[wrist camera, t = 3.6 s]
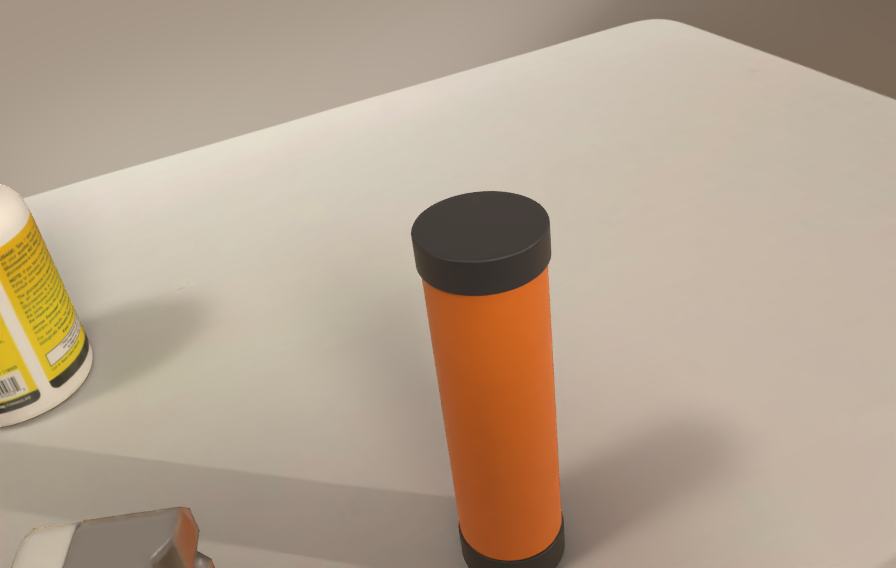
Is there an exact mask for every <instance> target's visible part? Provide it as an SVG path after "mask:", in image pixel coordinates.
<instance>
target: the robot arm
mask: <svg viewBox="0 0 896 568" xmlns="http://www.w3.org/2000/svg"><path fill="white" fill-rule="evenodd" d="M199 532H200V530H199V527H198V525H197V523H196V521H195V519H194V517H193V515H192V512H191V510H190V508H186V507H175V508H168V509H161V510H154V511H147V512H140V513H133V514H126V515H119V516H112V517H105V518H98V519H91V520H84V521H83V522H77V523H69V524H62V525H55V526H48V527H41V528H34V529H32V530H31V531H30V532H29V534H28V535H27V536H26V537H25V538H24V539H23V540H22V541H21V543H20V545H19V548H18V550H17V553H16V556H15V558H14V561H13V563H12V566H11V568H215V566H214V564H213V561H212V559H211V558H209V557H207V556H205V555H204V554H202V553H200V552H198V551H197V545H198V538H199Z"/></svg>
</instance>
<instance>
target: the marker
mask: <svg viewBox="0 0 896 568" xmlns="http://www.w3.org/2000/svg"><path fill="white" fill-rule="evenodd" d="M411 237H412V243H413V250H414V256H415V262H416V268H417V271H418V273H419V275H420V276H421V278H422V281H423V288H424V294H425V301H426V307H427V314H428V320H429V327H430V333H431V340H432V346H433V353H434V359H435V366H436V372H437V379H438V385H439V392H440V399H441V405H442V412H443V418H444V425H445V431H446V438H447V444H448V451H449V457H450V464H451V470H452V477H453V483H454V490H455V496H456V503H457V509H458V516H459V533H460V539H461V545H462V552H463V556H464V559H465V561H466V563H467V565H468V566H469V568H556V566H557V565H558V563H559V562H560V560H561V558H562V555H563V552H564V545H565V541H564V522H563V515H562V511H561V497H560V479H559V460H558V442H557V423H556V405H555V387H554V368H553V350H552V332H551V313H550V295H549V276H548V264H549V261H550V259H551V238H550V221H549V216H548V214H547V212H546V211H545V209H544V208H543V207H542V206H541V205H540V204H539V203H537V202H536V201H534V200H532V199H530V198H528V197H525V196H522V195H518V194H514V193H509V192H499V191H483V192H473V193H466V194H462V195H457V196H454V197H450V198H448V199H445V200H442V201H440V202H438V203H436V204H434V205H432V206H430V207H429V208H427V209H426V210H425V211H424V212H422V213H421V214H420V215H419V216H418V217H417V219H416V220H415V222H414V224H413V226H412V231H411Z"/></svg>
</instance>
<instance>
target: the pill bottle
mask: <svg viewBox="0 0 896 568" xmlns="http://www.w3.org/2000/svg"><path fill="white" fill-rule="evenodd" d="M92 360H93V355H92V349H91V346H90V344H89V341H88V339H87V336H86V334H85V332H84V330H83V327H82V325H81V323H80V321H79V318H78V316H77V314H76V312H75V309H74V307H73V305H72V303H71V300H70V298H69V296H68V294H67V292H66V289H65V287H64V285H63V282H62V280H61V278H60V276H59V273H58V271H57V269H56V267H55V265H54V262H53V260H52V258H51V256H50V253H49V251H48V249H47V247H46V245H45V242H44V240H43V238H42V236H41V234H40V232H39V230H38V227H37V225H36V223H35V221H34V219H33V216H32V214H31V212H30V210H29V208H28V206H27V205H26V203H25V202H24V200H23V198H22V197H21V196H20V195H19V194H18V193H17V192H16V191H14V190H13V189H11V188H10V187H8V186H5V185H3V184H0V427H4V426H9V425H13V424H17V423H20V422H23V421H26V420H29V419H31V418H34V417H36V416H38V415H41V414H43V413H45V412H47V411H49V410H50V409H52V408H54V407H55V406H57V405H59V404H60V403H62V402H63V401H64V400H66V399H67V398H68V397H69V396H71V395H72V394H73V393H74V392H75V391H76V390H77V389H78V388H79V387H80V386H81V385H82V384H83V382H84V381H85V379H86V377H87V375H88V373H89V371H90V368H91V365H92Z"/></svg>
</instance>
